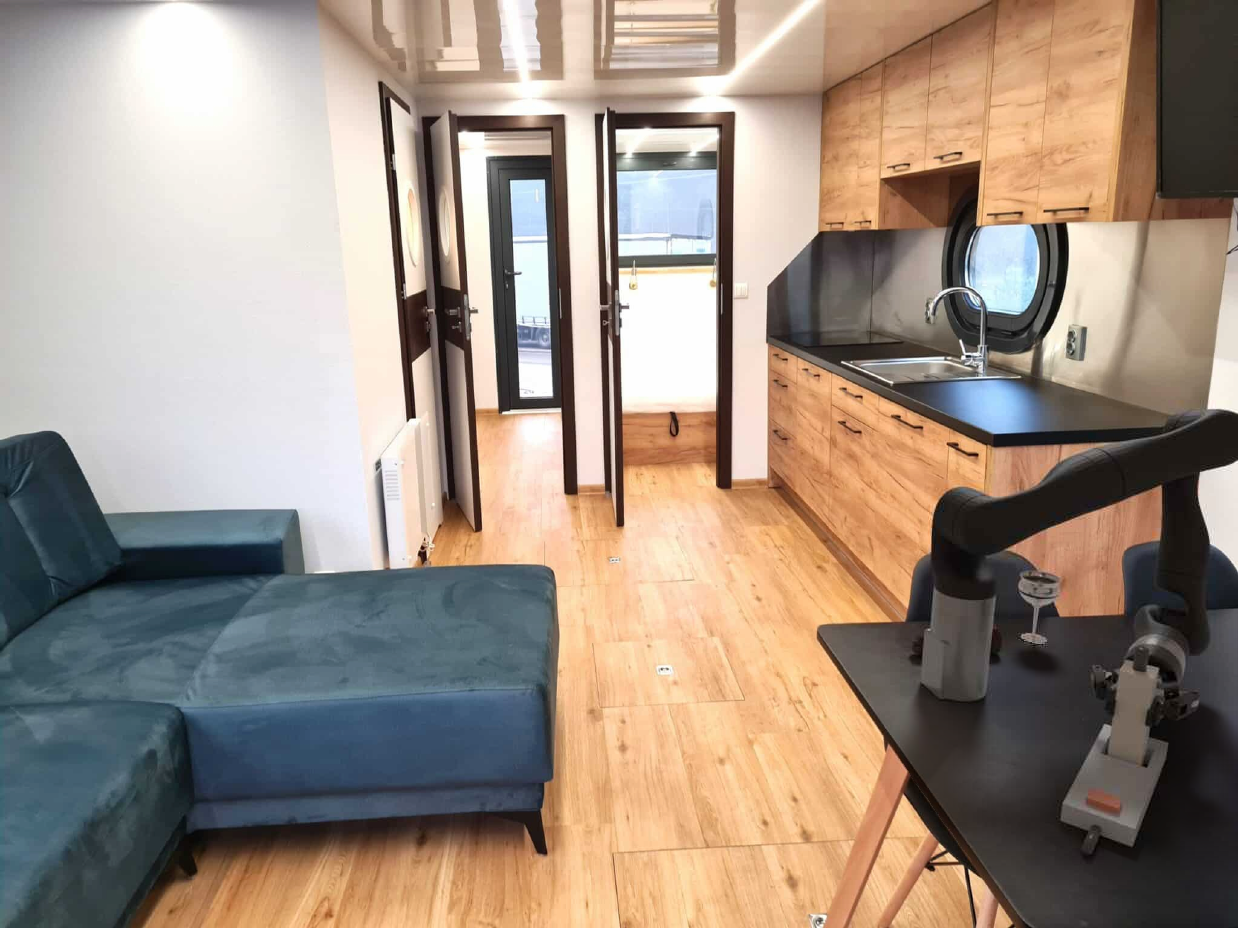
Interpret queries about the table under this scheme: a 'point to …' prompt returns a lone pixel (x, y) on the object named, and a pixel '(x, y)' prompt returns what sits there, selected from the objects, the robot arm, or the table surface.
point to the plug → (1133, 708)
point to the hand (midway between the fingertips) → (1130, 714)
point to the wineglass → (1038, 596)
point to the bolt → (995, 648)
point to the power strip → (1112, 793)
